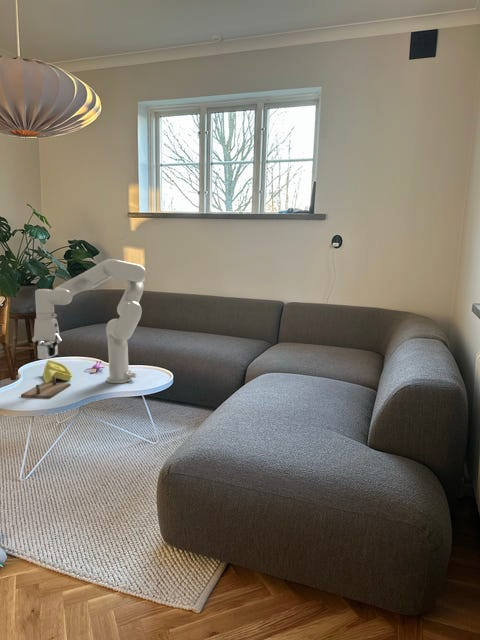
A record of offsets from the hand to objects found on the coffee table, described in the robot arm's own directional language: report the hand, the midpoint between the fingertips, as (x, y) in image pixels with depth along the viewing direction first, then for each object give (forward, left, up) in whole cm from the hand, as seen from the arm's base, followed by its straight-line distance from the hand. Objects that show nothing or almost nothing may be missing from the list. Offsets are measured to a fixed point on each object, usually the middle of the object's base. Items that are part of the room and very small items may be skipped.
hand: (47, 354), depth 196 cm
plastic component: (+8, -21, -18) cm, 29 cm away
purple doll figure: (-5, -41, -14) cm, 44 cm away
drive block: (0, 0, -1) cm, 1 cm away
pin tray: (+2, 0, -18) cm, 18 cm away
